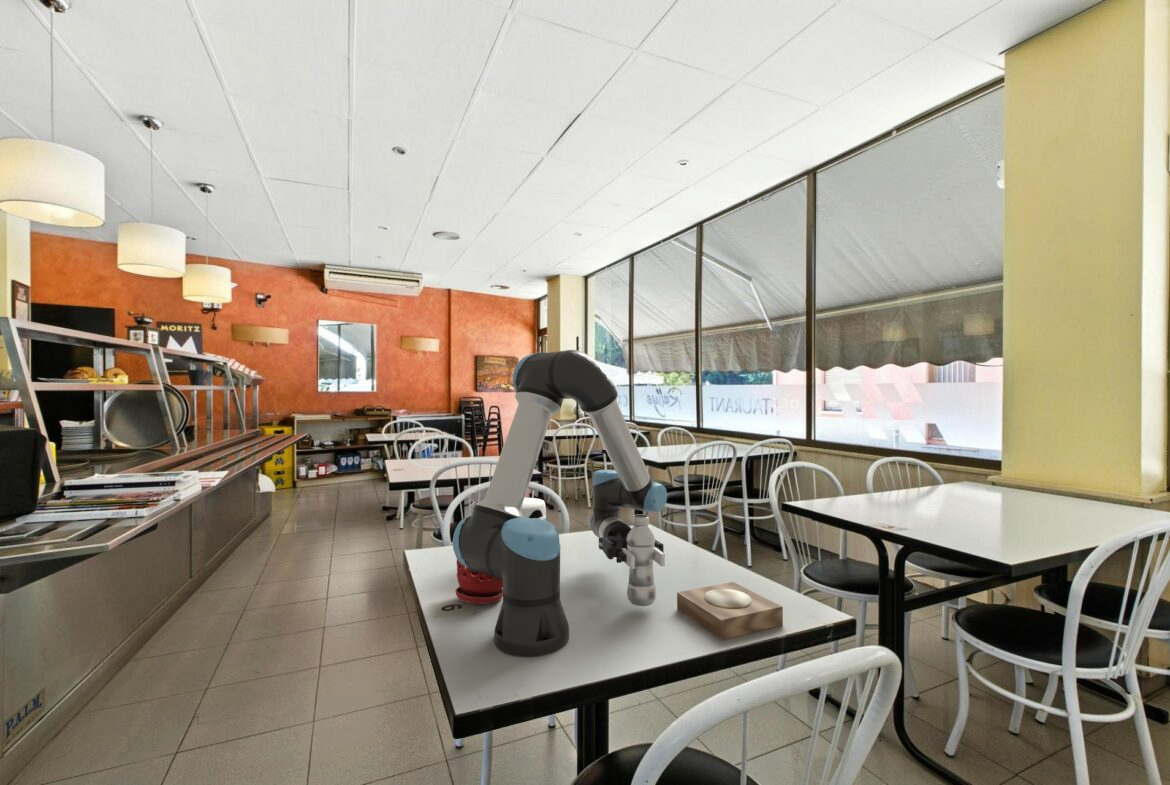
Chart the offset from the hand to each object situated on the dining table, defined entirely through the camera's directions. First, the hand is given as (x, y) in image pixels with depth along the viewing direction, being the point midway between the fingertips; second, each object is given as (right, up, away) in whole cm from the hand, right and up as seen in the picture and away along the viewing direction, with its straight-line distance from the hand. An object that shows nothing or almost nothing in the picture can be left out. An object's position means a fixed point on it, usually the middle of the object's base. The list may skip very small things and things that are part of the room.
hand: (648, 561), depth 112 cm
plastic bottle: (-1, -11, +4) cm, 12 cm away
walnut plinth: (+18, -13, +1) cm, 22 cm away
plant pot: (-39, -13, +12) cm, 43 cm away
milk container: (-33, -14, +39) cm, 53 cm away
